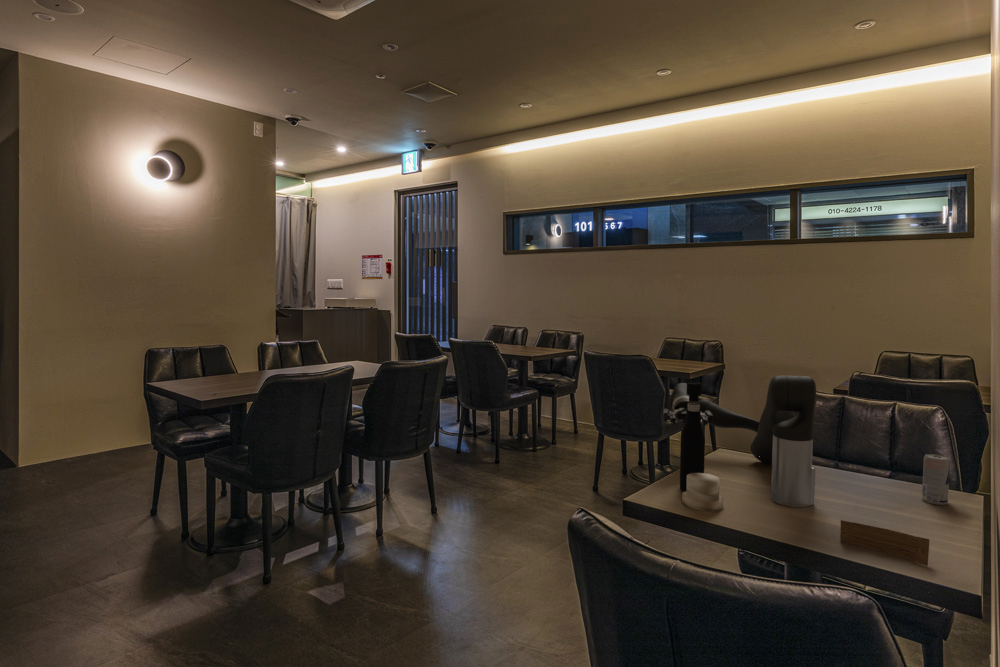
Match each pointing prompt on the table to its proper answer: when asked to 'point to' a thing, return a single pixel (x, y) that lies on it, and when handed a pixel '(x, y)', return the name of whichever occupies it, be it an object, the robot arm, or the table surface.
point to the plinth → (702, 504)
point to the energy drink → (935, 479)
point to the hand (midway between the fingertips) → (689, 422)
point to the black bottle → (692, 437)
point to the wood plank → (886, 541)
